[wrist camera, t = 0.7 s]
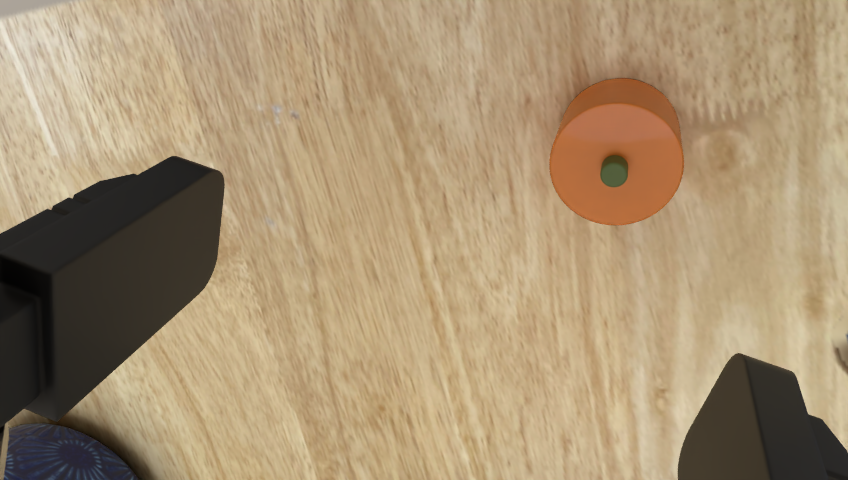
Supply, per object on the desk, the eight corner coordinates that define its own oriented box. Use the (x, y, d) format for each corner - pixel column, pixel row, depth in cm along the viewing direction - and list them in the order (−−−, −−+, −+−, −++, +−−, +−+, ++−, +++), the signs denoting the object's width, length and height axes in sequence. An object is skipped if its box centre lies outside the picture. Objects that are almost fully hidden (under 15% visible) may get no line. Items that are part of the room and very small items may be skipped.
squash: (616, 53, 23) (611, 81, 20) (705, 131, 24) (716, 172, 20) (536, 139, 25) (519, 178, 22) (619, 211, 26) (615, 260, 22)
